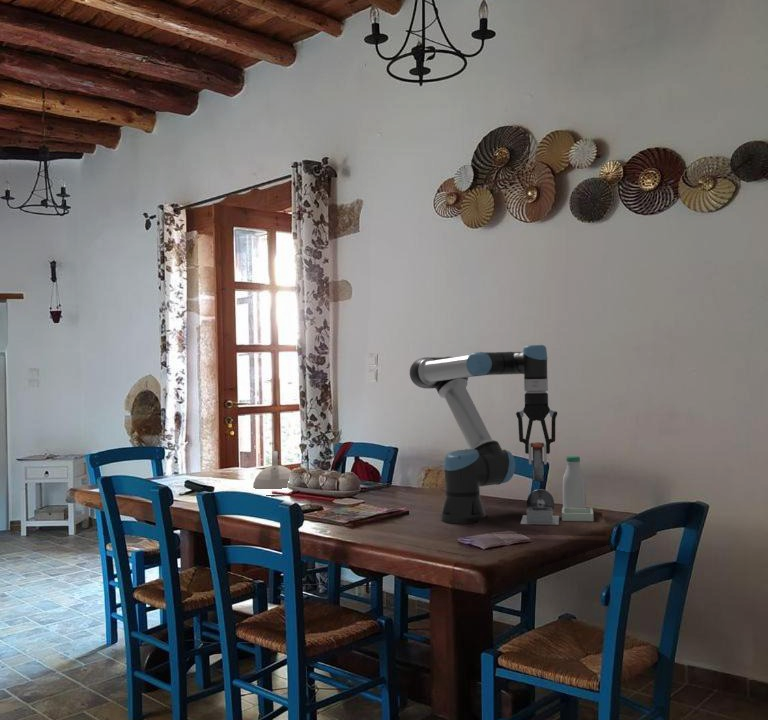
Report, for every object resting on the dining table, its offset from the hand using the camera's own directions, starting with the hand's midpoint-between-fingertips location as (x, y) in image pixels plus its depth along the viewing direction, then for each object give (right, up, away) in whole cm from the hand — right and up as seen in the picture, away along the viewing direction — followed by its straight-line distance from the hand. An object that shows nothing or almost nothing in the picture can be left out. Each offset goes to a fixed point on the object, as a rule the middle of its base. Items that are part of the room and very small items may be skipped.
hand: (537, 463), depth 261 cm
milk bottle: (+16, -20, +17) cm, 30 cm away
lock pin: (0, -5, 0) cm, 5 cm away
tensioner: (+1, -20, +2) cm, 20 cm away
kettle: (-97, -24, +84) cm, 130 cm away
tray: (+14, -20, +3) cm, 24 cm away
